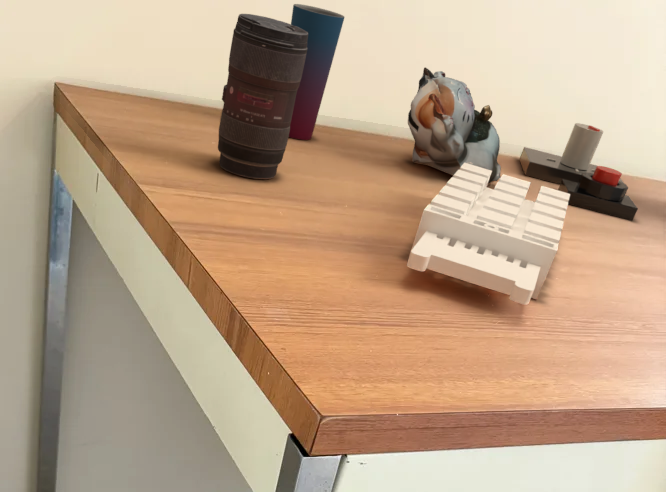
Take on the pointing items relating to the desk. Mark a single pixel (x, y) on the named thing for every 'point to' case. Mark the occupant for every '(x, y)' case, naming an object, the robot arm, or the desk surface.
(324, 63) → the cup
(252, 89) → the camera lens
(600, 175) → the button
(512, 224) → the organizer
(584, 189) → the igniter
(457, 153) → the lucky cat figurine
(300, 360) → the desk surface
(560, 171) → the hob console
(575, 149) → the hob knob
